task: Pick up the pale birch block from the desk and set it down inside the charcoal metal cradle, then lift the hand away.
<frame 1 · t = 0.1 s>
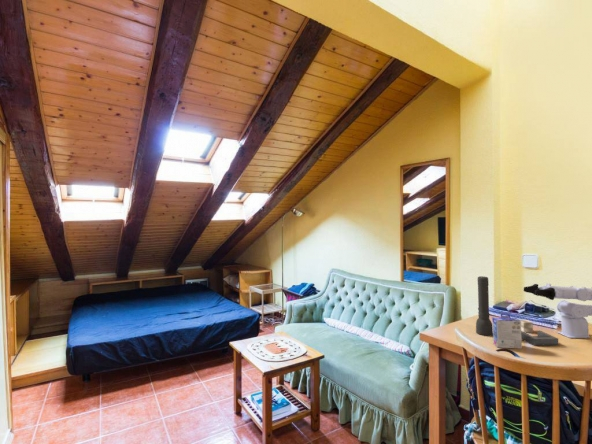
hand: (529, 290, 152), 22 cm above the table, tool horizontal, fingers open, 7 cm apart
cradle: (537, 341, 145), on the table
birch block: (525, 331, 159), on the table
ink cartridge box: (507, 346, 140), on the table
flashlight: (484, 334, 156), on the table
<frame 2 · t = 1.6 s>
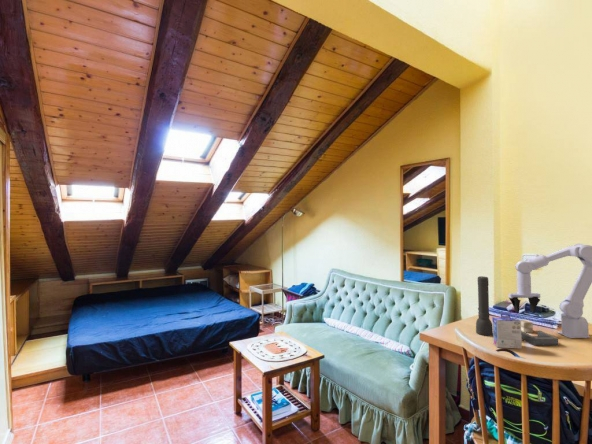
hand: (524, 312, 159), 9 cm above the table, tool pointing down, fingers open, 7 cm apart
nothing on the table moved.
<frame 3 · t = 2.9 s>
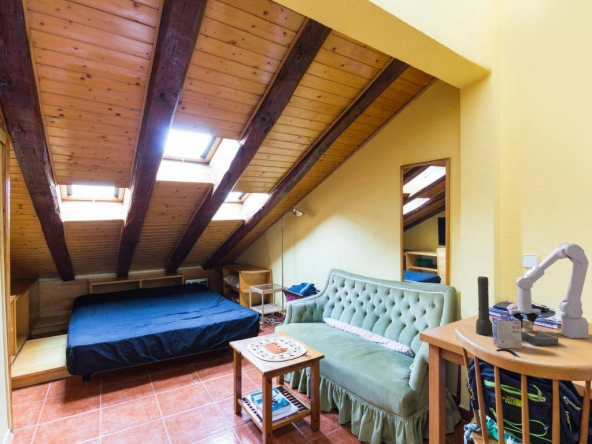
hand: (525, 328, 159), 1 cm above the table, tool pointing down, fingers closed on birch block, 4 cm apart
birch block: (525, 330, 159), on the table, touching gripper
everything else where it was.
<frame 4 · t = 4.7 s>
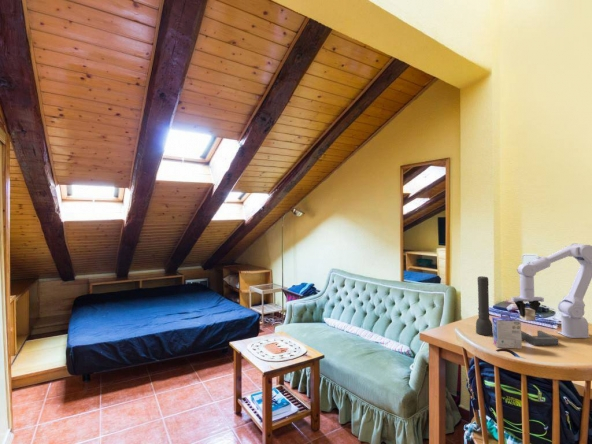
hand: (527, 316, 155), 8 cm above the table, tool pointing down, fingers closed on birch block, 4 cm apart
birch block: (527, 319, 156), point 7 cm above the table, touching gripper
everything else where it was.
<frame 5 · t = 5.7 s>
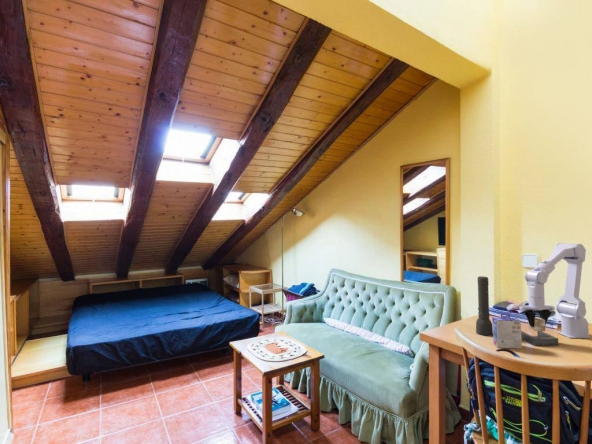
hand: (537, 326, 145), 7 cm above the table, tool pointing down, fingers closed on birch block, 4 cm apart
birch block: (536, 329, 145), point 5 cm above the table, touching gripper
everything else where it was.
when the fingers open (4 cm above the table, at t = 6.6 s): birch block drops 2 cm, resting on cradle.
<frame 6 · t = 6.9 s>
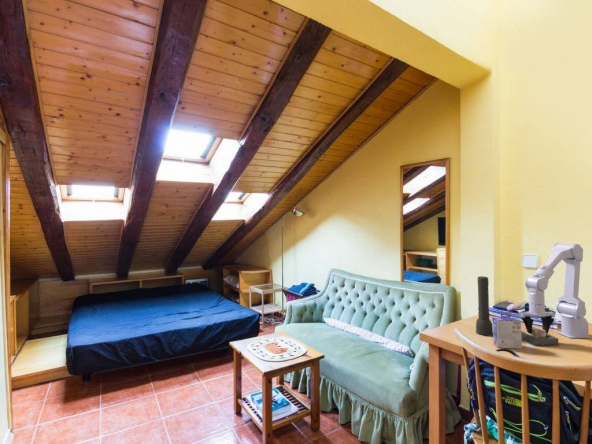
hand: (537, 332, 145), 4 cm above the table, tool pointing down, fingers open, 7 cm apart
birch block: (537, 339, 145), point 1 cm above the table, touching cradle
everything else where it was.
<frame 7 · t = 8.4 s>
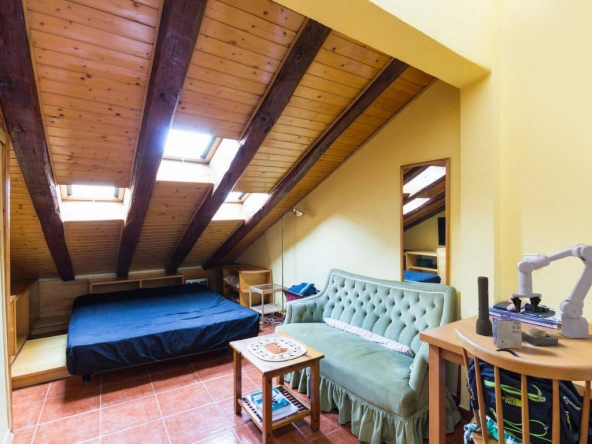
hand: (526, 312, 159), 9 cm above the table, tool pointing down, fingers open, 7 cm apart
nothing on the table moved.
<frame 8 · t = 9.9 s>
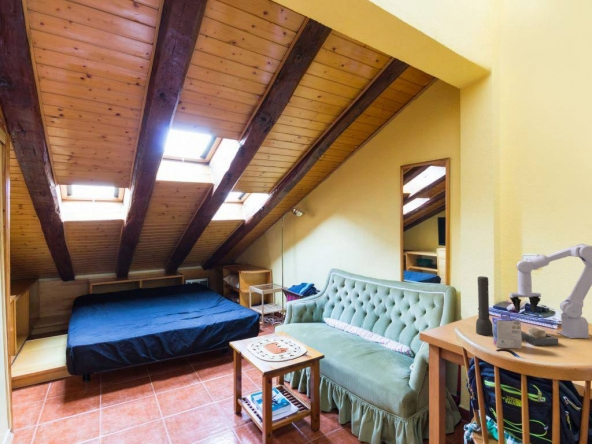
hand: (525, 311, 160), 9 cm above the table, tool pointing down, fingers open, 7 cm apart
nothing on the table moved.
at the end: birch block 0.3 cm off-centre on the cradle, point 0.6 cm above the cradle's base; birch block tilted 0°; the gripper is holding nothing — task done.
